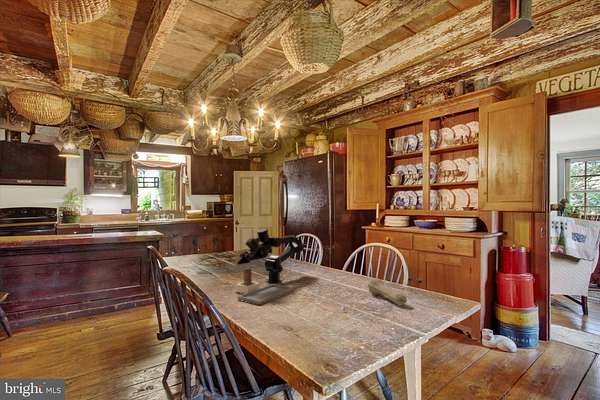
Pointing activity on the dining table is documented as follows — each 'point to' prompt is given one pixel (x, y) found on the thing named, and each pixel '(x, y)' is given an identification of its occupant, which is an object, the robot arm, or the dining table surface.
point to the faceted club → (386, 291)
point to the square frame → (246, 287)
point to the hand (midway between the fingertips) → (242, 261)
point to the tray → (265, 294)
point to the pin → (247, 276)
